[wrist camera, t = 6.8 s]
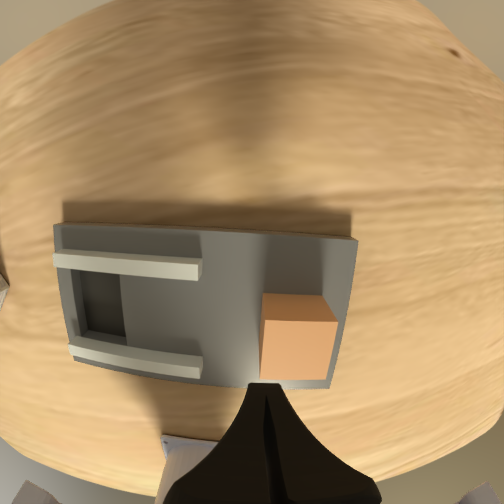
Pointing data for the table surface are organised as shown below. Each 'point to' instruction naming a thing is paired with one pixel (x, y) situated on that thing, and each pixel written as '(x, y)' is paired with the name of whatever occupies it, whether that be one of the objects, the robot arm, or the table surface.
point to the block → (295, 337)
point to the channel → (190, 296)
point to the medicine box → (3, 290)
